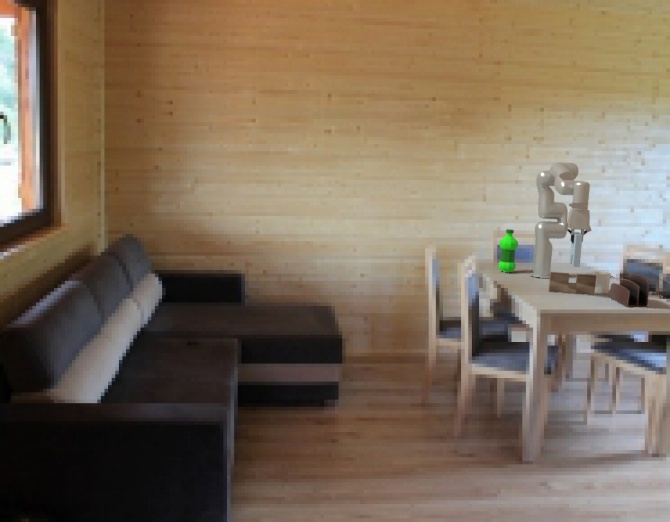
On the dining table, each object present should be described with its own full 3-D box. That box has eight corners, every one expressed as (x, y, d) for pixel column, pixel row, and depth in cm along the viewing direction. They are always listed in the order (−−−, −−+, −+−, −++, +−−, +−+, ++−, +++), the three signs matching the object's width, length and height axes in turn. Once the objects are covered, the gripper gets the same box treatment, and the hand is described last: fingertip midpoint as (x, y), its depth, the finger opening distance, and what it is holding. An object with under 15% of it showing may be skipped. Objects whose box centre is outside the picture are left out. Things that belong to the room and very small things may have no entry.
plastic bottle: (494, 272, 409) (498, 229, 405) (502, 270, 417) (505, 228, 413) (510, 274, 403) (514, 231, 399) (518, 272, 411) (521, 230, 407)
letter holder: (628, 298, 350) (631, 271, 348) (647, 308, 331) (651, 279, 328) (608, 298, 350) (611, 270, 347) (627, 307, 330) (630, 278, 328)
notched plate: (569, 262, 362) (572, 231, 360) (575, 262, 362) (578, 232, 359) (573, 266, 349) (576, 234, 346) (579, 267, 348) (582, 235, 346)
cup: (596, 293, 360) (598, 273, 358) (585, 288, 371) (587, 269, 370) (611, 293, 361) (613, 274, 359) (600, 288, 372) (602, 269, 371)
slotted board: (548, 290, 361) (550, 271, 360) (593, 294, 358) (595, 274, 356) (549, 291, 359) (551, 272, 357) (594, 295, 355) (596, 275, 353)
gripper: (563, 206, 348) (560, 243, 351) (598, 208, 345) (594, 245, 348) (561, 205, 356) (558, 241, 359) (595, 207, 353) (592, 243, 356)
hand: (576, 242), depth 353 cm, fingers closed on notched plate, 3 cm apart
